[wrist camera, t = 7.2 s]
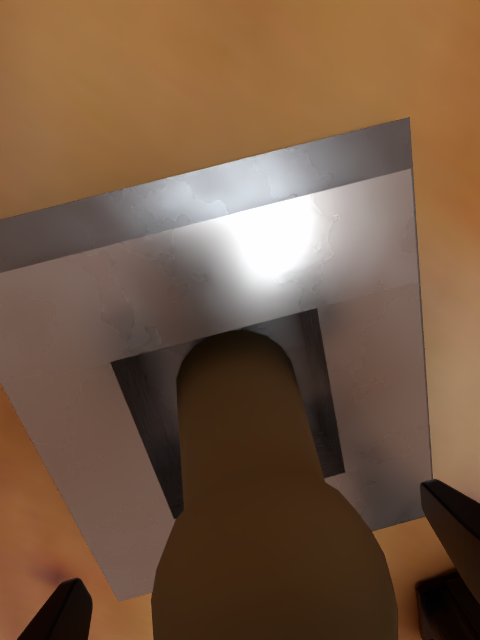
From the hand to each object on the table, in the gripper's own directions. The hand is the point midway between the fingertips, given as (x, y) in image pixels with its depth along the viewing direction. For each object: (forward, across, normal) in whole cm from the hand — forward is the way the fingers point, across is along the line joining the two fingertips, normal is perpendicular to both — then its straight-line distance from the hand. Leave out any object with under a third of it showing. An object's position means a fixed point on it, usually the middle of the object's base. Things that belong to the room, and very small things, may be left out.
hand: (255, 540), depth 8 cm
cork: (+8, 0, 0) cm, 8 cm away
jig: (+9, 0, 0) cm, 9 cm away
